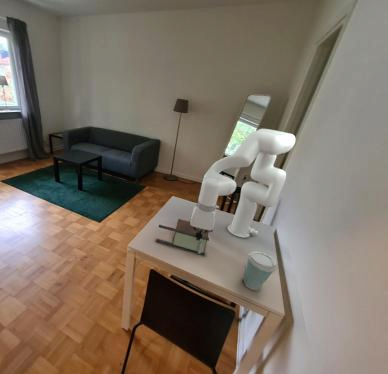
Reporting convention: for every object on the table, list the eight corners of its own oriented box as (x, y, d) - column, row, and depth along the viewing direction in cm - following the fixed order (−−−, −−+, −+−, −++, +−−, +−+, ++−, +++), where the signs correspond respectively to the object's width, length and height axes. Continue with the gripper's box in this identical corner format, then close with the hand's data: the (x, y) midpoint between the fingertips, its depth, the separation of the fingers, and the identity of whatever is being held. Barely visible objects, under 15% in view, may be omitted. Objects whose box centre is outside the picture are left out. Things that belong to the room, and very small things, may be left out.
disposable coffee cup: (233, 277, 94) (243, 251, 88) (250, 271, 99) (260, 246, 92) (253, 298, 86) (266, 270, 79) (271, 290, 90) (284, 263, 84)
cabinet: (205, 241, 116) (209, 226, 111) (204, 255, 106) (209, 239, 101) (160, 229, 122) (163, 214, 118) (155, 241, 112) (158, 226, 108)
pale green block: (203, 252, 106) (206, 239, 103) (202, 257, 103) (206, 243, 100) (173, 243, 110) (176, 230, 107) (172, 248, 107) (174, 235, 103)
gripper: (223, 205, 95) (214, 238, 103) (189, 198, 98) (183, 230, 106) (224, 213, 88) (214, 248, 96) (188, 205, 92) (181, 239, 100)
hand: (198, 238), depth 101 cm, fingers closed
